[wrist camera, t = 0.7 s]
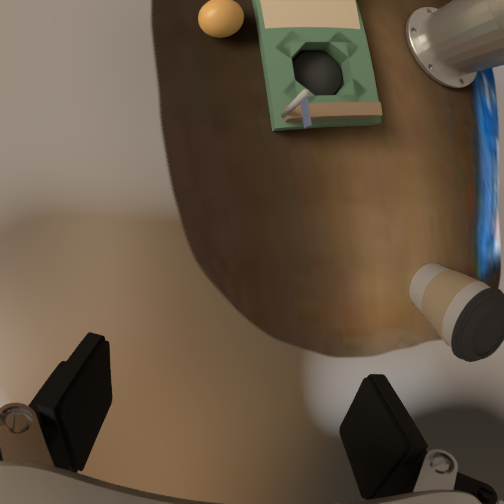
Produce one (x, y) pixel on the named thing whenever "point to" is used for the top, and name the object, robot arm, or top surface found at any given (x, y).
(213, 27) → the ball
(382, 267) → the top surface
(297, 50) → the putting mat
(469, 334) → the coffee cup
